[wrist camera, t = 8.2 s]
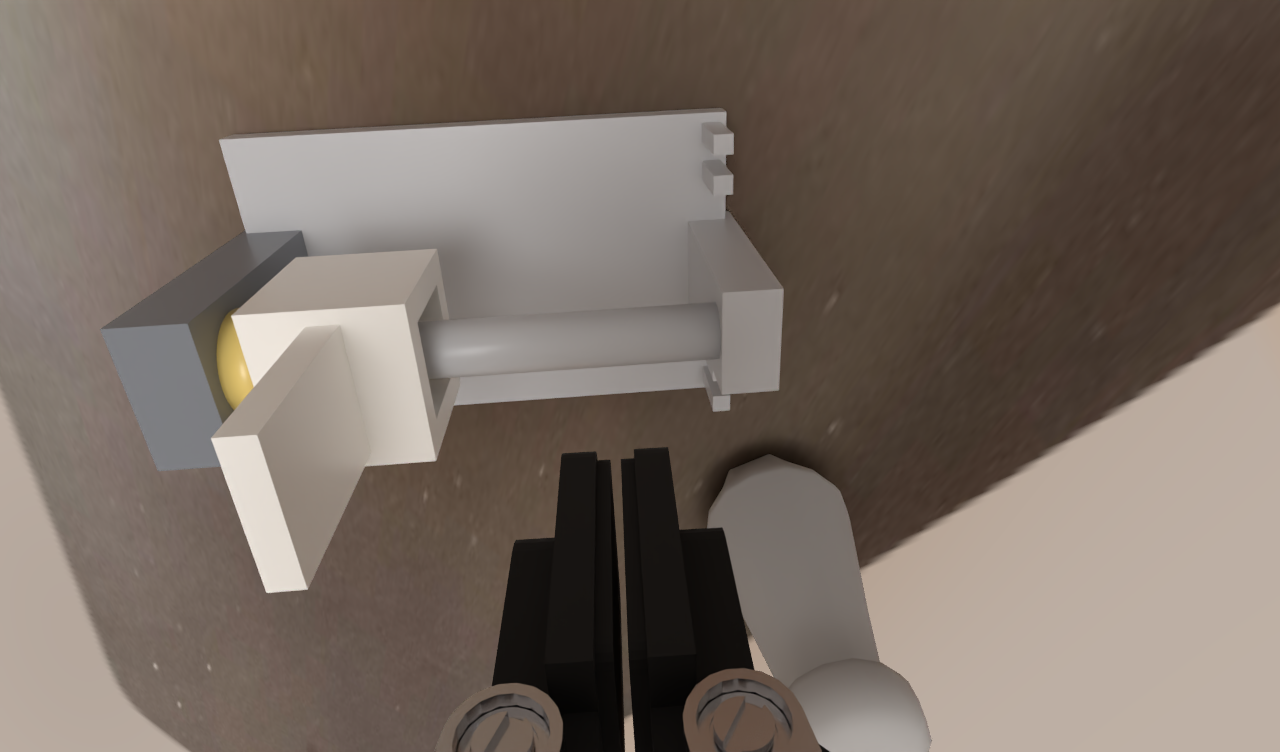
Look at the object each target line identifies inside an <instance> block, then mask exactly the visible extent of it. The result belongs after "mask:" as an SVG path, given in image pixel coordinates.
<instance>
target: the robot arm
mask: <svg viewBox="0 0 1280 752" xmlns="http://www.w3.org/2000/svg"><path fill="white" fill-rule="evenodd" d="M621 471H622V497H623V523H624V549H625V575H626V601H627V627H628V650H629V669H630V684H631V698H632V712H633V726H634V740H635V752H830V751H828V750H827V749H826V748H824V747H823V746H821V745H820V744H818V741H817V739H816V737H815V735H814V732H813V730H812V728H811V726H810V723H809V721H808V719H807V717H806V714H805V712H804V710H803V708H802V706H801V704H800V703H799V701H798V700H797V698H796V697H795V695H794V693H793V692H792V691H791V690H790V689H789V688H787V687H786V686H785V685H784V684H783V683H782V682H780V681H779V680H778V679H776V678H774V677H772V676H770V675H767V674H765V673H763V672H760V671H755V670H754V666H753V662H752V657H751V653H750V648H749V643H748V638H747V634H746V629H745V625H744V620H743V615H742V611H741V606H740V601H739V597H738V592H737V587H736V583H735V578H734V573H733V569H732V564H731V560H730V555H729V550H728V546H727V541H726V537H725V533H724V530H723V528H722V527H721V528H704V529H688V530H679V524H678V516H677V509H676V502H675V494H674V487H673V480H672V472H671V465H670V458H669V451H668V447H664V448H647V449H634V458H633V459H621ZM624 740H625V739H624V705H623V670H622V636H621V603H620V584H619V570H618V557H617V543H616V530H615V516H614V503H613V489H612V476H611V463H610V460H599V461H597V453H596V452H580V453H563V454H562V456H561V467H560V479H559V491H558V503H557V516H556V528H555V538H542V539H525V540H516V541H515V543H514V546H513V551H512V557H511V564H510V571H509V577H508V584H507V590H506V597H505V603H504V610H503V617H502V623H501V630H500V636H499V643H498V649H497V656H496V663H495V669H494V676H493V682H492V687H489V688H486V689H483V690H480V691H479V692H477V693H476V694H474V695H472V696H471V697H469V698H468V699H466V700H464V701H463V702H462V704H461V705H460V706H459V707H458V708H457V709H456V710H455V711H454V712H453V713H452V714H451V715H450V717H449V719H448V721H447V723H446V724H445V726H444V728H443V730H442V732H441V735H440V737H439V740H438V743H437V746H436V748H435V751H434V752H625V741H624Z"/></svg>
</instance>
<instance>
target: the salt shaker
mask: <svg viewBox="0 0 1280 752" xmlns="http://www.w3.org/2000/svg"><path fill="white" fill-rule="evenodd" d="M721 527H722V528H723V530H724V533H725V537H726V541H727V546H728V550H729V555H730V560H731V564H732V569H733V573H734V578H735V583H736V587H737V592H738V597H739V601H740V606H741V611H742V615H743V617H744V619H745V621H746V623H747V625H748V627H749V629H750V631H751V633H752V635H753V637H754V639H755V641H756V643H757V645H758V647H759V649H760V651H761V653H762V655H763V657H764V658H765V661H766V663H767V664H768V667H769V669H770V671H771V672H772V674H773V676H774V678H776V679H778V680H779V681H780V682H782V683H783V684H784V685H785V686H786V687H787V688H789V689H790V690H791V691H792V692H793V693H794V695H795V697H796V698H797V700H798V701H799V703H800V704H801V706H802V708H803V710H804V712H805V714H806V717H807V719H808V721H809V723H810V726H811V728H812V730H813V732H814V735H815V737H816V739H817V741H818V744H820V745H821V746H823V747H824V748H826V749H827V750H828V751H830V752H929V748H930V745H931V742H932V740H931V736H930V732H929V729H928V725H927V721H926V718H925V716H924V713H923V710H922V708H921V705H920V702H919V700H918V698H917V696H916V695H915V693H914V691H913V689H912V688H911V686H910V684H909V682H908V681H907V680H906V679H905V678H904V677H902V676H901V675H900V674H899V673H897V672H895V671H894V670H892V669H890V668H889V667H887V666H886V665H884V664H883V663H881V662H880V661H879V656H878V652H877V648H876V643H875V639H874V635H873V631H872V626H871V622H870V618H869V613H868V609H867V603H866V599H865V593H864V588H863V583H862V578H861V573H860V568H859V563H858V558H857V553H856V548H855V543H854V538H853V533H852V528H851V523H850V518H849V514H848V512H847V509H846V506H845V503H844V500H843V498H842V495H841V492H840V491H839V490H838V489H837V487H836V486H835V485H834V484H832V483H831V482H829V481H828V480H827V479H825V478H824V477H822V476H821V475H819V474H818V473H817V472H815V471H814V470H812V469H809V468H806V467H803V466H800V465H797V464H794V463H791V462H787V461H785V460H783V459H780V458H778V457H775V456H773V455H771V454H767V455H765V456H763V457H760V458H758V459H755V460H753V461H750V462H748V463H745V464H743V465H740V466H738V467H735V468H733V469H731V470H729V472H728V475H727V478H726V480H725V483H724V486H723V488H722V490H721V491H720V493H719V495H718V496H717V498H716V500H715V501H714V503H713V505H712V506H711V508H710V510H709V514H708V524H707V528H721Z"/></svg>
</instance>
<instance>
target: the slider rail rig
mask: <svg viewBox="0 0 1280 752" xmlns="http://www.w3.org/2000/svg"><path fill="white" fill-rule="evenodd" d="M219 142H220V145H221V149H222V152H223V156H224V159H225V162H226V166H227V169H228V173H229V176H230V180H231V183H232V186H233V190H234V193H235V197H236V200H237V204H238V207H239V210H240V214H241V217H242V221H243V224H244V228H245V231H244V232H242V233H241V234H239V235H238V236H236V237H235V238H233V239H232V240H230V241H229V242H227V243H226V244H225V245H223V246H222V247H220V248H219V249H217V250H216V251H214V252H213V253H211V254H210V255H208V256H207V257H205V258H204V259H203V260H201V261H200V262H198V263H197V264H195V265H194V266H192V267H191V268H189V269H188V270H186V271H185V272H183V273H182V274H181V275H179V276H178V277H176V278H175V279H173V280H172V281H170V282H169V283H167V284H166V285H164V286H163V287H161V288H160V289H159V290H157V291H156V292H154V293H153V294H151V295H150V296H148V297H147V298H145V299H144V300H142V301H141V302H139V303H138V304H137V305H135V306H134V307H132V308H131V309H129V310H128V311H126V312H125V313H123V314H122V315H120V316H119V317H118V318H116V319H115V320H113V321H112V322H110V323H109V324H107V325H106V326H104V327H103V328H101V329H100V330H101V333H102V335H103V338H104V340H105V343H106V345H107V347H108V350H109V352H110V355H111V357H112V360H113V362H114V365H115V367H116V369H117V372H118V374H119V377H120V379H121V382H122V384H123V387H124V389H125V392H126V394H127V396H128V399H129V401H130V404H131V406H132V409H133V411H134V414H135V416H136V418H137V421H138V423H139V426H140V428H141V431H142V433H143V436H144V438H145V441H146V443H147V445H148V448H149V450H150V453H151V455H152V458H153V460H154V463H155V465H156V467H157V470H158V471H166V470H180V469H193V468H207V467H220V466H221V465H220V462H219V459H218V457H217V454H216V451H215V448H214V446H213V443H212V440H211V437H212V436H213V435H214V434H215V433H216V431H217V430H218V429H219V428H220V427H221V426H222V424H223V423H224V422H225V421H226V420H227V419H228V417H229V416H230V415H231V414H232V413H233V411H234V410H235V409H236V408H237V407H238V406H239V404H240V403H241V402H242V401H243V400H244V398H245V397H246V396H247V395H248V394H249V393H250V391H251V390H252V389H253V388H254V386H253V383H252V380H251V377H250V374H249V371H248V368H247V364H246V361H245V358H244V355H243V352H242V349H241V346H240V342H239V339H238V336H237V333H236V330H235V327H234V323H233V320H232V317H231V315H232V314H233V313H235V312H236V311H237V310H238V309H239V308H240V307H241V306H242V305H243V304H245V303H246V302H247V301H248V300H249V299H250V298H251V297H252V296H254V295H255V294H256V293H257V292H258V291H259V290H260V289H261V288H262V287H264V286H265V285H266V284H267V283H268V282H269V281H270V280H271V279H272V278H274V277H275V276H276V275H277V274H278V273H279V272H280V271H281V270H282V269H284V268H285V267H286V266H287V265H288V264H289V263H290V262H291V261H292V260H294V259H295V258H296V257H311V256H327V255H343V254H359V253H375V252H391V251H407V250H423V249H437V251H438V257H439V263H440V268H441V274H442V280H443V286H444V291H445V297H446V303H447V309H448V315H449V320H437V321H422V322H417V323H418V328H419V333H420V338H421V343H422V348H423V353H424V359H425V364H426V369H427V374H428V379H442V378H456V377H459V378H460V387H459V390H458V393H457V396H456V400H455V403H454V405H466V404H480V403H494V402H508V401H521V400H535V399H549V398H563V397H577V396H591V395H605V394H619V393H633V392H647V391H661V390H675V389H689V388H703V387H705V388H706V391H707V394H708V398H709V401H710V404H711V407H712V410H713V412H714V411H728V410H730V394H738V393H752V392H766V391H779V377H780V356H781V335H782V315H783V294H784V288H783V287H782V286H781V284H780V283H779V281H778V280H777V278H776V277H775V276H774V274H773V273H772V271H771V270H770V269H769V267H768V266H767V264H766V263H765V261H764V260H763V259H762V257H761V256H760V254H759V253H758V252H757V250H756V249H755V247H754V246H753V244H752V243H751V242H750V240H749V239H748V237H747V236H746V235H745V233H744V232H743V230H742V229H741V227H740V226H739V225H738V223H737V222H736V220H735V219H734V218H733V216H732V215H731V213H730V212H729V211H725V204H726V195H733V174H732V173H731V172H730V170H729V169H728V168H727V167H726V155H731V154H734V133H733V132H732V131H730V130H729V129H728V128H727V127H726V111H725V110H724V109H722V108H706V109H688V110H669V111H651V112H633V113H615V114H597V115H579V116H561V117H542V118H524V119H506V120H488V121H470V122H452V123H434V124H415V125H397V126H379V127H361V128H343V129H325V130H306V131H288V132H270V133H252V134H234V135H230V136H227V137H225V138H222V139H219Z"/></svg>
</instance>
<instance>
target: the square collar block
mask: <svg viewBox="0 0 1280 752" xmlns="http://www.w3.org/2000/svg"><path fill="white" fill-rule="evenodd" d="M231 317H232V320H233V323H234V327H235V330H236V333H237V336H238V339H239V342H240V346H241V349H242V352H243V355H244V358H245V361H246V364H247V368H248V371H249V374H250V377H251V380H252V383H253V386H254V388H253V389H252V390H251V391H250V393H249V394H248V395H247V396H246V397H245V398H244V400H243V401H242V402H241V403H240V404H239V406H238V407H237V408H236V409H235V410H234V411H233V413H232V414H231V415H230V416H229V417H228V419H227V420H226V421H225V422H224V423H223V424H222V426H221V427H220V428H219V429H218V430H217V431H216V433H215V434H214V435H213V436H212V437H211V440H212V443H213V446H214V448H215V451H216V454H217V457H218V459H219V462H220V465H221V468H222V471H223V473H224V476H225V479H226V482H227V484H228V487H229V490H230V493H231V495H232V498H233V501H234V504H235V507H236V509H237V512H238V515H239V518H240V520H241V523H242V526H243V529H244V532H245V534H246V537H247V540H248V543H249V545H250V548H251V551H252V554H253V557H254V559H255V562H256V565H257V568H258V570H259V573H260V576H261V579H262V581H263V584H264V587H265V590H266V593H271V592H283V591H296V590H308V588H309V586H310V583H311V581H312V579H313V577H314V575H315V573H316V570H317V568H318V566H319V564H320V562H321V560H322V558H323V555H324V553H325V551H326V549H327V547H328V545H329V542H330V540H331V538H332V536H333V534H334V532H335V530H336V527H337V525H338V523H339V521H340V519H341V517H342V515H343V512H344V510H345V508H346V506H347V504H348V502H349V499H350V497H351V495H352V493H353V491H354V489H355V487H356V484H357V482H358V480H359V478H360V476H361V474H362V471H363V469H364V467H365V466H376V465H389V464H403V463H416V462H429V461H436V460H437V457H438V454H439V450H440V447H441V444H442V441H443V438H444V435H445V431H446V428H447V425H448V422H449V419H450V415H451V412H452V409H453V406H454V403H455V400H456V396H457V393H458V390H459V387H460V378H459V377H456V378H442V379H428V374H427V369H426V364H425V359H424V353H423V348H422V343H421V338H420V333H419V328H418V323H417V322H422V321H437V320H449V315H448V309H447V303H446V297H445V291H444V286H443V280H442V274H441V268H440V263H439V257H438V251H437V249H423V250H407V251H391V252H375V253H359V254H343V255H327V256H311V257H296V258H295V259H294V260H292V261H291V262H290V263H289V264H288V265H287V266H286V267H285V268H284V269H282V270H281V271H280V272H279V273H278V274H277V275H276V276H275V277H274V278H272V279H271V280H270V281H269V282H268V283H267V284H266V285H265V286H264V287H262V288H261V289H260V290H259V291H258V292H257V293H256V294H255V295H254V296H252V297H251V298H250V299H249V300H248V301H247V302H246V303H245V304H243V305H242V306H241V307H240V308H239V309H238V310H237V311H236V312H235V313H233V314H232V315H231Z"/></svg>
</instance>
